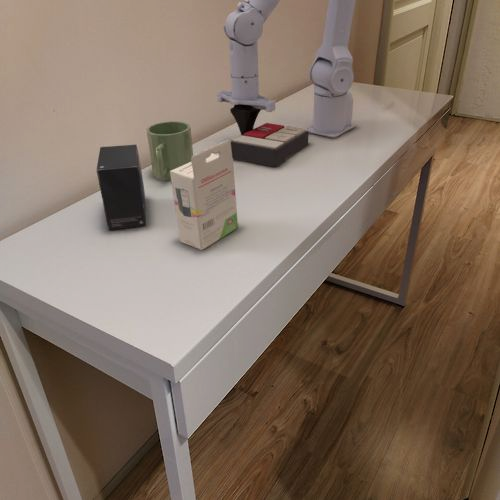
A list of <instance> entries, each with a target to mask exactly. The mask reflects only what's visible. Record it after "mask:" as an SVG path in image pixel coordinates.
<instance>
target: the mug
mask: <svg viewBox="0 0 500 500" xmlns="http://www.w3.org/2000/svg"><path fill="white" fill-rule="evenodd" d="M146 135H147V143H148V149H149V155H150V162H151V171H152V175H153V176H154V178H156V179H157V180H160V181H171V175H170V171H171V170H174V169H176V168H178V167H180V166H183V165H185V164H187V163H189V162H191V158H192V156H193V155H194V148H193V138H192V128H191V125H190V124H189V123H187V122H185V121H177V120H171V121H161V122H157V123H154V124H151V125H149V126H148V127H147V128H146Z"/></svg>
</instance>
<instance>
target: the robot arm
mask: <svg viewBox="0 0 500 500" xmlns="http://www.w3.org/2000/svg"><path fill="white" fill-rule="evenodd" d="M280 1H281V0H242V1H239V2H238V3H237V4H236V8H237V10H234V11H232V12H231V13H229V15H228V16H227V17H226V20H225V24H224V25H223V26H222V27H223V28H222V29H223V32H224V34H225V37H227V39H228V44H229V45H228V46H229V71H230V85H231V86H230V87H231V91H227V90H222V91H219V92H217V93H216V97H217V102H218V103H229V104H231V105H233V107H231V108H230V113H231V115H232V116H233V118H234V120H235V122H236V124H237V127H238V129H239V132H240V136H243V135H244V133H246V132H248V131H251V130H253V129H254V126H255V124H256V120H257V118H258V115H259V114H260V112H261V111H262V110H263V111H265V112H266V113H272V112H275V111H276V100H273V99H270V98H267V97H265V96H262V95H260V86H259V51H258V40H259V39H261V37H262V35H263V32H264V31H263V30H264V24H265V22H266V21H267V20H268V18H269V17H270V15H271V14H272V13H273V12H274V10H275V9H276V7H277V6H278V4H279V3H280ZM355 7H356V0H328V3H327V11H326V17H325V24H324V32H323V38H322V44H321V46H320V47H319V48H318V49H317V51H315V55H314V60H313V61H312V64H311V65H310V67H309V72H308V76H309V80H310V82H311V83H312V84H313V118H312V119H313V120H312V126H310V127H308V128H305V129H306V131H308V132H309V134H314V135H319V136H323V137H328V138H333V139H334V138H337V137H338V136H341V135H342V134H344V133H346V132H348V131H350V130H352V129H354V128H355V127H356V126H355V125H356V124H353V123H352V121H353V109H354V98H353V97H354V96H353V95H352V93H351V91H350V89H351V87H352V86H353V84H354V80H355V75H354V74H355V73H354V70H353V65H354V58H353V55H352V54H351V52H350V50H349V43H350V37H351V29H352V24H353V17H354V13H355Z"/></svg>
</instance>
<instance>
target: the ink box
mask: <svg viewBox="0 0 500 500" xmlns="http://www.w3.org/2000/svg"><path fill="white" fill-rule="evenodd" d="M170 175H171V180H170V182H171V190H172V195H173V202H174V211H175V216H176V224H177V231H178V237H179V242H180V243H183V244H185V245H188V246H190V247H193V248H195V249H197V250H201V251H203V250H205V249H207V248H208V247H209V246H211V245H213V244H215V243H216V242H218V241H219V240H221V239H223V238H224V237H226V236H227V235H229V234H231V233H232V232H234V231H235V230H237V229H238V227H239V223H238V210H237V196H236V182H235V181H236V180H235V166H234V159H232V150H231V139H229V138H227V140H225V141H223V142H220V143H217V144H215V145H213V146H210V147H208V148H206V149H204V150H202V151H201V152H198V153H195V154H193V156H192V158H191V162H189V163H187V164H185V165H183V166H180V167H178V168H176V169H174V170H171V171H170Z"/></svg>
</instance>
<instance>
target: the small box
mask: <svg viewBox="0 0 500 500" xmlns="http://www.w3.org/2000/svg"><path fill="white" fill-rule="evenodd" d="M140 160H141V159H140V155H139V149H138V145H137V144H125V145H112V146H100V147H99V152H98V158H97V165H96V176H97V180H98V185H99V189H100V196H101V200H102V204H103V210H104V216H105V222H106V228H107V231H110V230H120V229H127V228H135V227H144V226H146V225H147V214H146V213H147V212H146V210H147V208H146V193H145V185H144V177H143V170H142V165H141V161H140Z"/></svg>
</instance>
